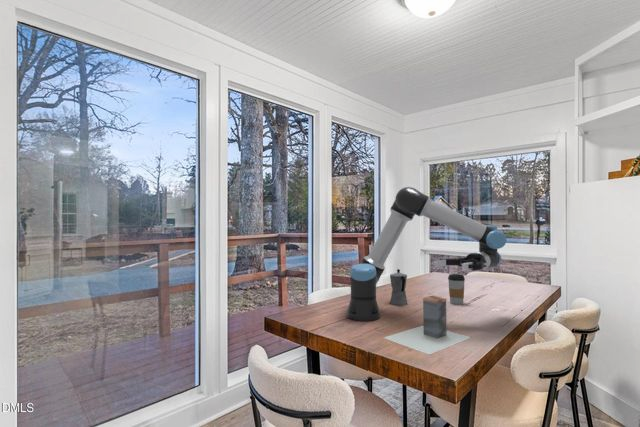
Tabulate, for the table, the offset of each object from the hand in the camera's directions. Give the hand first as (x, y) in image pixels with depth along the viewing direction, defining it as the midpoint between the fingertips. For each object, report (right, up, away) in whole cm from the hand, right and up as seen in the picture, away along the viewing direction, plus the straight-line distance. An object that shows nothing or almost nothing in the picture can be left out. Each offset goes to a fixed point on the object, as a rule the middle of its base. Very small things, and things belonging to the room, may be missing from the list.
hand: (449, 265), depth 137 cm
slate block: (-8, -25, -7) cm, 27 cm away
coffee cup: (+20, -27, +43) cm, 55 cm away
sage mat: (-12, -26, -10) cm, 30 cm away
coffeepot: (-10, -27, +44) cm, 52 cm away
